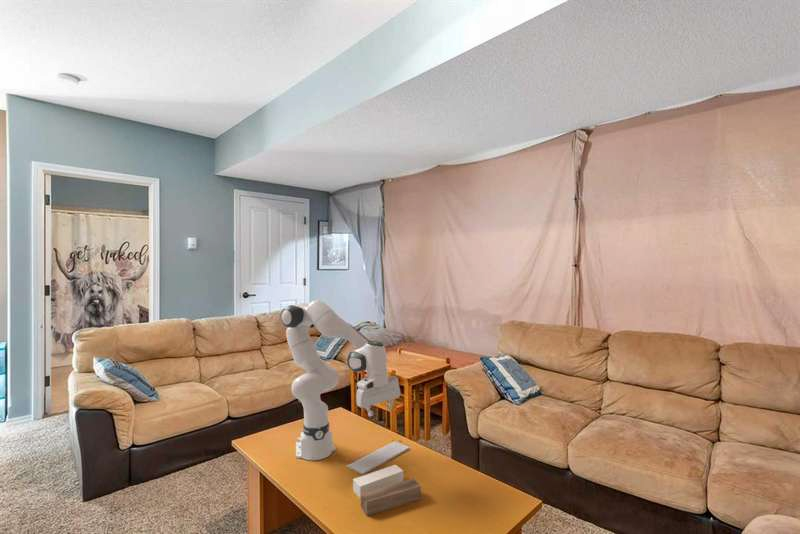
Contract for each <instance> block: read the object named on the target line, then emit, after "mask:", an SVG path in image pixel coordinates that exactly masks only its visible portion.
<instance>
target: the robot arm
mask: <svg viewBox="0 0 800 534" xmlns="http://www.w3.org/2000/svg"><path fill="white" fill-rule="evenodd" d="M280 321H281V323H282V325H283V326H284V327H286V331H285V336H286V340H287V344H288V347H289V351H290V353H291V355H292V358H293V360H294V361H293V362H294V363H295V365H296V366H297V367H299V368H302V369H304V370H305V371H306V372H307V373H304V374H301V375H299V376H298V377H296V378H295V379H294V380H293V381H292V382H291V383H292V384H291V394H292V395H293V397H294V398H296V399H297V400H299V401H300V403H301V404H302V408H303V418H304V419H303V425H302V431H301V433H300V437H296V442H295V458H296V457H297V458H296V459H303V460H306V461H319V460H323V459H326V458H327V457H329V456H331V454H332V453H333V452H334V451H336V449H337V448H336V446H335V445H334V444H333V433H332V431H330V422H329V406H328V405H327V403H325V402H324V401H322V400H321V394H323V393H325V392H328V391H330V390H332V389H333V388H335V387H336V386H337V385H338V383H339V381H340V376H339V373H338V371H337V370H336V369H335V368H334V367H332V366H330V365H328V364H327V363H325V361H324V360H323V359H322V358H321V356H320V355H319V354H318V352H317V349H316V347H315V344H314V343H313V340H312V337H311V335H310V332H309V329H310V328H311V329H312V328H316V329H317V331H318V332H319V333H320V334H322V335H323V336H324V337H326V338H329V339H330V338H333V339H343V340H346V341H348V342H350V343H351V344H352V345H353V346H354V347H355V348H356V349H354V350H351V352H349V353H348V356H347V359H346V361H347V366H348V368H349V370H351V371H352V372H353V373H360V372H361V373H362V372H366V376H364V378H362V379H360V380H359V381H358V382H357V383H356V387H357V390H356V397H355V398H356V400H355V401H356V405H357V406H358V407H359V409H360V408H361V409H365V410H366V411H367V416H368V417H372V416H374V411H372V410H371V408H372V406H374V405H378V404H380V403H381V404H382V403H384V402H387V401H388V404H387V405H386V410H387V411H392V410H393V404H394V400H396V399H398V398H400V396H401V388H400V385H399V383H400V381H399V378H398V376H395V375H393V376H389V374H388V373H389V372H388V368H387V363H388V358H387V351H386V347H385V345H384V343H383V342H381V341H378V340H377V341H376V340H369V339H368V338H367V337H365V336H364V335H363V334H362V333H361V332H360V331H359V330H358V329H357V328H356V327H354V326H353V325H352V324H350V323H349V322H347V321H345V320H344V319H343V318H342V317H341V316H339V314H338V313H336V311H334V309H332V308H331V307H330V306H329V305H328V304H327V303H326V302H324V301H322V300H320V299H314V300H313V301H311V302H306V303H305V302H303V303H297V304H294V305H293V304H291V305H288V306H286V307H284V308H283V309H282V310H281V312H280Z"/></svg>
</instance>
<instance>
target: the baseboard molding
mask: <svg viewBox="0 0 800 534" xmlns="http://www.w3.org/2000/svg"><path fill="white" fill-rule="evenodd" d="M394 440H395V438H393V441H391V442H389V444H386V445H384V446H383V447H380V448H378V449H377V450H375V451H373V452H371V453H368V454H366V455H365V456H362V457H361V458H359V459H357V460H355V461H353V462H352V463H350V464H347V465H345V467H346V468H348V469H349V470H352V471H353V472H355V473H357V474H359V475H361V476H364V475H366V474H368V472H370V471H373V470H374V469H376V468H378V467H380V466H381V465H383V464H385V463H387V462H388V461H390V460H392V459H394V458H396V457H397V456H399V455H401V454H403V453H404V452H407V451H408V450H410V446H409V445H408V444H407V443H405V444H404V443H403V440H398V441H396V440H395V441H394ZM400 442H401V443H400Z"/></svg>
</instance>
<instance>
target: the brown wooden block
mask: <svg viewBox="0 0 800 534" xmlns="http://www.w3.org/2000/svg"><path fill="white" fill-rule="evenodd" d="M421 492H422V487H421V485H420V483H419V482H417V480H415V479H414V478H410V479H406V480H403V482H399V483H395V484H392V485H388V486H385V487H381V488H377V489H374V490H370V491H367V492H363V493H361V499H360V507H361V509H362V511H363V513H364V514H365V515H366V517H368V516H372V515H375V514H378V513H381V512H385V511H389V510H391V509H394V508H397V507H400V506H403V505H406V504H407V505H408V504H411V503H414V502H417V501H420V500H421V497H422V496H421V495H422V493H421Z"/></svg>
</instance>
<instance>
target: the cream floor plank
mask: <svg viewBox="0 0 800 534" xmlns="http://www.w3.org/2000/svg"><path fill="white" fill-rule="evenodd" d="M403 481H404V470H403V469H402V468H400V467H399V466H398V465H397V464H393V465H390V466H387V467H384V468H381V469H379V470H376V471H372V472H370V473H366V474H363V475H361V476H358V477H355V478H353V479H352V482H353V484H352V491H353V493H354V494H356V495H357V497H358V498H359V499H360V500H361V493H363V492H367V491H370V490H374V489H377V488H381V487H385V486H388V485H392V484H395V483H399V482H403Z"/></svg>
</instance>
